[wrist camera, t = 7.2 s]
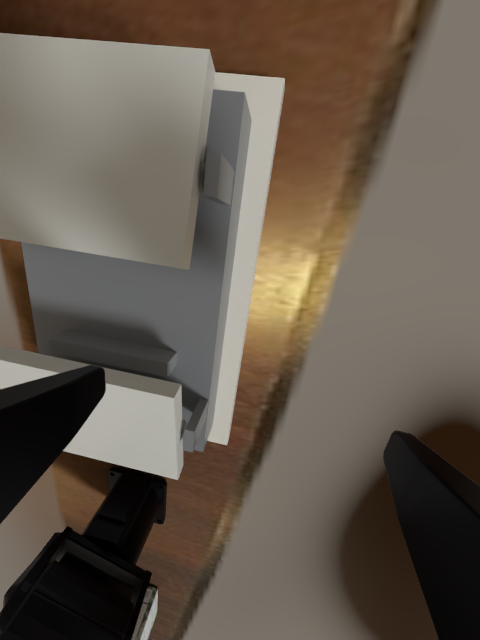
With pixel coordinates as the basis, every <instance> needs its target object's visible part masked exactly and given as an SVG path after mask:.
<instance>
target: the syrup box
mask: <svg viewBox="0 0 480 640" xmlns="http://www.w3.org/2000/svg"><path fill="white" fill-rule="evenodd" d="M157 601H158V589H157V588H154V587H151V586H148V588H147V591H146V594H145V597H144V601H143V604H142V607H141V610H140V614H139V617H138V620H137V623H136V627H135V630H134V633H133V636H132V639H131V640H148V638H149V635H150V632H151V629H152V626H153V623H154V620H155V617H156V614H157Z"/></svg>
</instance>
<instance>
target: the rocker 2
mask: <svg viewBox="0 0 480 640" xmlns="http://www.w3.org/2000/svg"><path fill="white" fill-rule="evenodd" d="M88 365H90V364H85V363H80V362H76V361H71V360H66V359H62V358H57V357H52V356H48V355H43V354H38V353H34V352H29V351H24V350H19V349H15V348H10V347H5V346H0V389H3V388H7V387H11V386H14V385H18V384H22V383H26V382H29V381H33V380H37V379H40V378H44V377H48V376H51V375H55V374H59V373H63V372H66V371H70V370H74V369H77V368H81V367H85V366H88ZM102 368H104V367H102ZM104 370H105V381H106V391H105V394H104V396H103V398H102V399H101V401H100V402H99V403H98V405H97V406H96V408H95V409H94V410H93V412H92V413H91V415H90V416H89V418H88V419H87V420H86V422H85V423H84V425H83V426H82V427H81V429H80V430H79V432H78V433H77V434H76V436H75V437H74V438H73V439H72V441H71V442H70V443H69V444H68V446H67V447H66V448H65V449H64V450H63V451H65V452H69V453H73V454H77V455H81V456H85V457H89V458H93V459H97V460H101V461H105V462H109V463H112V464H116V465H120V466H124V467H128V468H132V469H136V470H140V471H144V472H148V473H152V474H156V475H160V476H164V477H168V478H172V479H176V480H178V478H179V476H180V473H181V470H182V467H183V434H184V430H185V426H186V420H183V419H182V388H181V384H179V383H174V382H169V381H165V380H160V379H155V378H150V377H146V376H141V375H136V374H132V373H127V372H122V371H118V370H113V369H108V368H104Z"/></svg>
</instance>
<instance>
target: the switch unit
mask: <svg viewBox="0 0 480 640" xmlns="http://www.w3.org/2000/svg"><path fill="white" fill-rule="evenodd" d="M284 91H285V78H275V77H264V76H253V75H241V74H230V73H218V72H215V79H214V87H213V94H212V102H211V109H210V117H209V125H208V132H207V140H206V147H205V155H204V164H205V179H204V190H203V191H202V192H200V193H199V201H198V208H197V216H196V224H195V231H194V239H193V246H192V254H191V262H190V269H189V270H186V269H180V268H174V267H168V266H162V265H156V264H150V263H144V262H138V261H132V260H126V259H120V258H114V257H108V256H102V255H96V254H90V253H84V252H78V251H72V250H66V249H60V248H54V247H48V246H42V245H36V244H31V243H25V242H21V245H22V251H23V257H24V264H25V270H26V277H27V283H28V290H29V296H30V303H31V309H32V315H33V322H34V328H35V335H36V341H37V348H38V354H43V355H48V356H52V357H57V358H62V359H66V360H71V361H76V362H80V363H85V364H90V365H94V366H99V367H104V368H108V369H113V370H118V371H122V372H127V373H132V374H136V375H141V376H146V377H150V378H155V379H160V380H165V381H169V382H174V383H179V384H181V388H182V419H183V420H186V426H185V430H184V434H183V450H184V451H189V452H193V450H197V451H201V452H203V451H204V448H205V445H206V442H207V441H211V442H215V443H219V444H224V445H227V443H228V440H229V436H230V430H231V423H232V417H233V411H234V404H235V398H236V392H237V386H238V379H239V373H240V367H241V360H242V354H243V348H244V342H245V335H246V329H247V323H248V317H249V310H250V304H251V298H252V291H253V285H254V279H255V273H256V266H257V260H258V254H259V248H260V241H261V235H262V229H263V222H264V216H265V210H266V204H267V197H268V191H269V185H270V178H271V172H272V166H273V160H274V153H275V147H276V141H277V135H278V128H279V122H280V116H281V109H282V103H283V97H284Z"/></svg>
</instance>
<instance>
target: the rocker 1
mask: <svg viewBox="0 0 480 640" xmlns="http://www.w3.org/2000/svg"><path fill="white" fill-rule="evenodd" d="M214 79H215V69H214V65H213V61H212V57H211V53H210V50H209V49H198V48H186V47H173V46H160V45H147V44H135V43H122V42H109V41H96V40H84V39H71V38H58V37H45V36H33V35H20V34H7V33H0V238H1V239H7V240H13V241H19V242H25V243H31V244H36V245H42V246H48V247H54V248H60V249H66V250H72V251H78V252H84V253H90V254H96V255H102V256H108V257H114V258H120V259H126V260H132V261H138V262H144V263H150V264H156V265H162V266H168V267H174V268H180V269H186V270H189V269H190V262H191V254H192V246H193V239H194V231H195V224H196V216H197V208H198V201H199V193H200V192H202V191H203V190H204V179H205V164H204V155H205V147H206V140H207V132H208V125H209V117H210V109H211V102H212V94H213V87H214Z"/></svg>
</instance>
